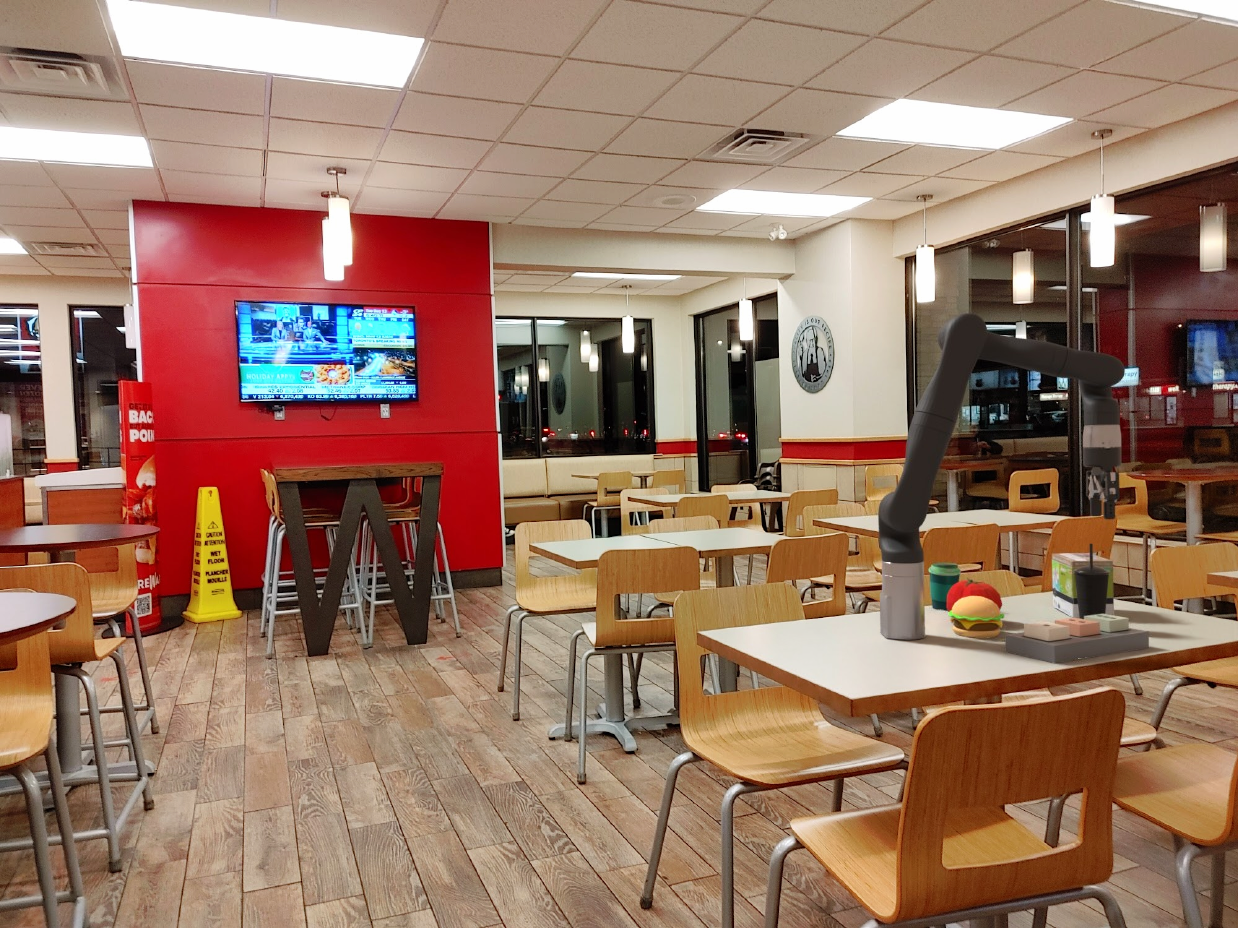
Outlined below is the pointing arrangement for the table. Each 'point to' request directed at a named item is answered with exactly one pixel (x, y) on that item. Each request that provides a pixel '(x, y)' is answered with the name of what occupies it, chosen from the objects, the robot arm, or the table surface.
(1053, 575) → the tea box
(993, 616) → the hamburger
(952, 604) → the tomato
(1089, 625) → the terracotta tile
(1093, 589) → the drinking cup
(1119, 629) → the sage tile
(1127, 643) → the console
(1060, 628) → the cream tile
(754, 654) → the table surface
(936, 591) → the cup
